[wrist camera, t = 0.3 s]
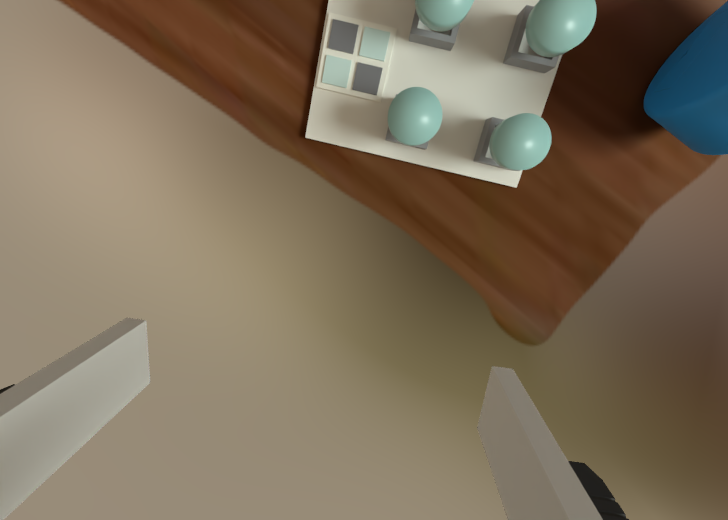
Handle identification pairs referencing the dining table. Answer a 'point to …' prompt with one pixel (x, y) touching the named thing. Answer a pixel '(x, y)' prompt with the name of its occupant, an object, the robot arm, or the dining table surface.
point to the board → (428, 80)
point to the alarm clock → (695, 88)
